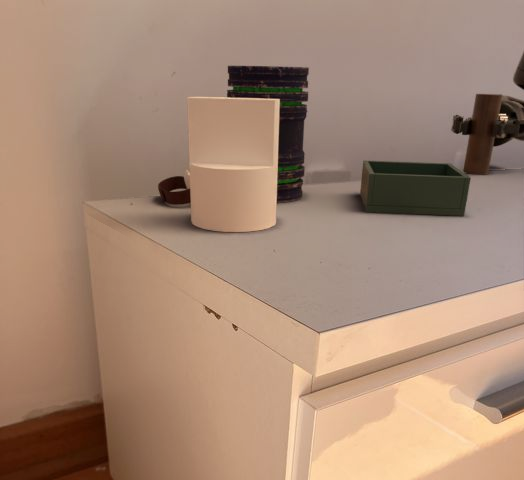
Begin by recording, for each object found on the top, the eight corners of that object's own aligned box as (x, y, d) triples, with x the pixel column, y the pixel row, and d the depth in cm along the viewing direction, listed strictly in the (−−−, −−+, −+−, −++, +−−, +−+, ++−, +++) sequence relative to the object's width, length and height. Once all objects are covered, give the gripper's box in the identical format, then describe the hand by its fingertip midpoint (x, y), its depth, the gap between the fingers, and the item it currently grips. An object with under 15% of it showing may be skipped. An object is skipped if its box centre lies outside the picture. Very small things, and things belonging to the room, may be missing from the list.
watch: (209, 206, 67) (208, 174, 65) (170, 209, 65) (169, 176, 64) (186, 194, 73) (185, 165, 72) (151, 196, 71) (149, 166, 70)
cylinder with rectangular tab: (181, 229, 57) (176, 98, 52) (202, 210, 65) (199, 95, 60) (270, 234, 56) (274, 101, 51) (280, 214, 64) (284, 97, 59)
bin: (445, 197, 75) (450, 163, 73) (464, 216, 65) (470, 177, 63) (360, 193, 76) (363, 160, 74) (365, 212, 66) (369, 173, 64)
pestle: (484, 171, 97) (498, 94, 92) (490, 174, 93) (505, 94, 88) (460, 170, 97) (473, 93, 92) (466, 173, 94) (479, 94, 89)
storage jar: (242, 186, 79) (243, 66, 73) (311, 191, 77) (318, 68, 70) (215, 199, 71) (213, 65, 64) (291, 205, 68) (297, 66, 62)
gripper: (463, 98, 105) (438, 101, 92) (546, 102, 99) (533, 105, 85) (456, 141, 108) (431, 150, 95) (536, 147, 102) (522, 157, 89)
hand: (480, 128), depth 90 cm, fingers closed on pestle, 4 cm apart
